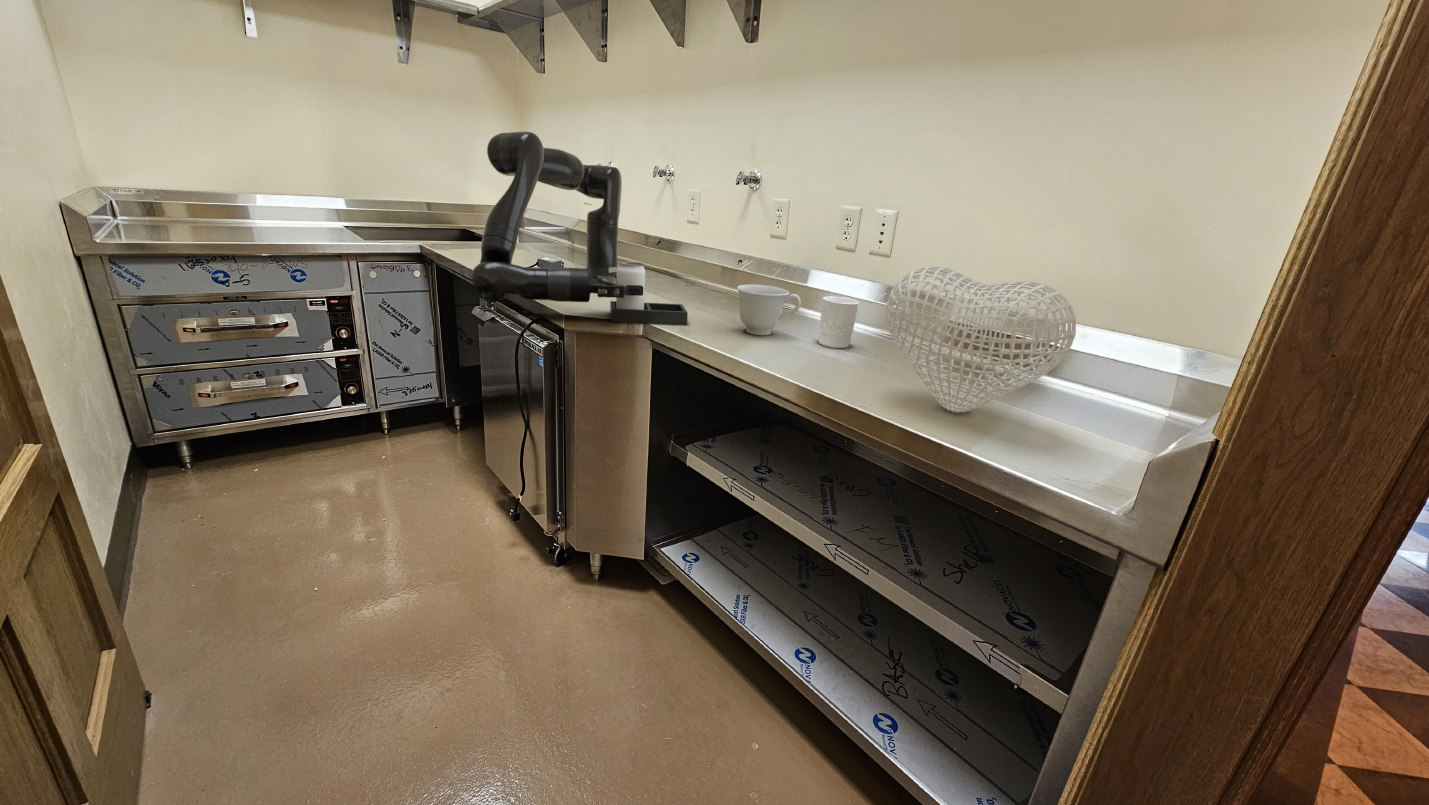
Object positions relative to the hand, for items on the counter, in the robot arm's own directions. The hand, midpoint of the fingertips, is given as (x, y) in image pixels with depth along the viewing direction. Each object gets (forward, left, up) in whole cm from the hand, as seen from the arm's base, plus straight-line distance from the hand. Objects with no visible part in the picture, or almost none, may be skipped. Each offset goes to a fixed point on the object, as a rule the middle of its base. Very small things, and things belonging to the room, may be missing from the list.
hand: (640, 287), depth 141 cm
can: (0, -2, -7) cm, 7 cm away
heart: (+59, +47, -8) cm, 76 cm away
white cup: (+18, +42, -8) cm, 46 cm away
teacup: (+10, +28, -8) cm, 31 cm away
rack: (0, +2, -7) cm, 8 cm away
